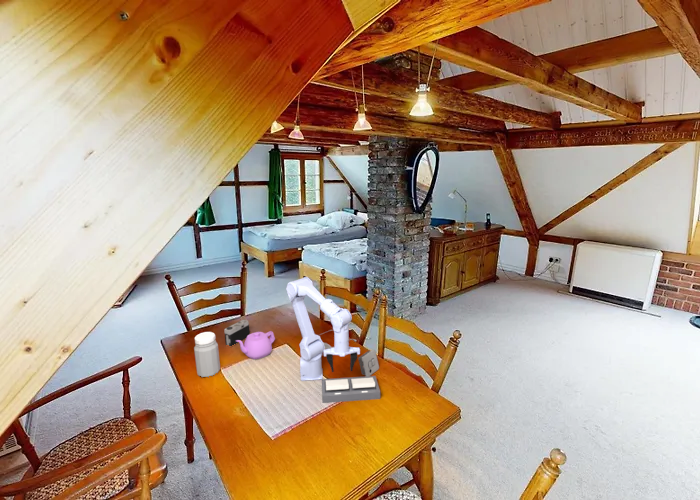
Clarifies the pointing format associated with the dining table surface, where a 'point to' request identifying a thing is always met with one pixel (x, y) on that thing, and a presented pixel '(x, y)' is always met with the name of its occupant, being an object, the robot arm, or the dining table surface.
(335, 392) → the switch box
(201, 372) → the jar
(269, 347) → the teapot
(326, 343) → the eyeglasses
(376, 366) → the electrical switch
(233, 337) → the camera
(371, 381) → the right paddle
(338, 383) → the left paddle
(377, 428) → the dining table surface
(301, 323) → the robot arm
